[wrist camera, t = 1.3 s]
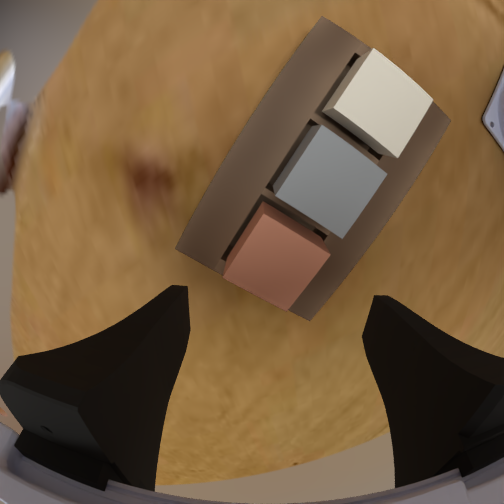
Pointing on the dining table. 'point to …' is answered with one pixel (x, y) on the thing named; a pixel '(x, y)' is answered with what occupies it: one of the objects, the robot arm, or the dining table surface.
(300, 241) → the terracotta key
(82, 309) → the dining table surface
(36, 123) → the dining table surface
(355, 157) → the slate key
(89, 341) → the robot arm
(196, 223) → the key block
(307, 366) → the dining table surface
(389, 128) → the cream key
